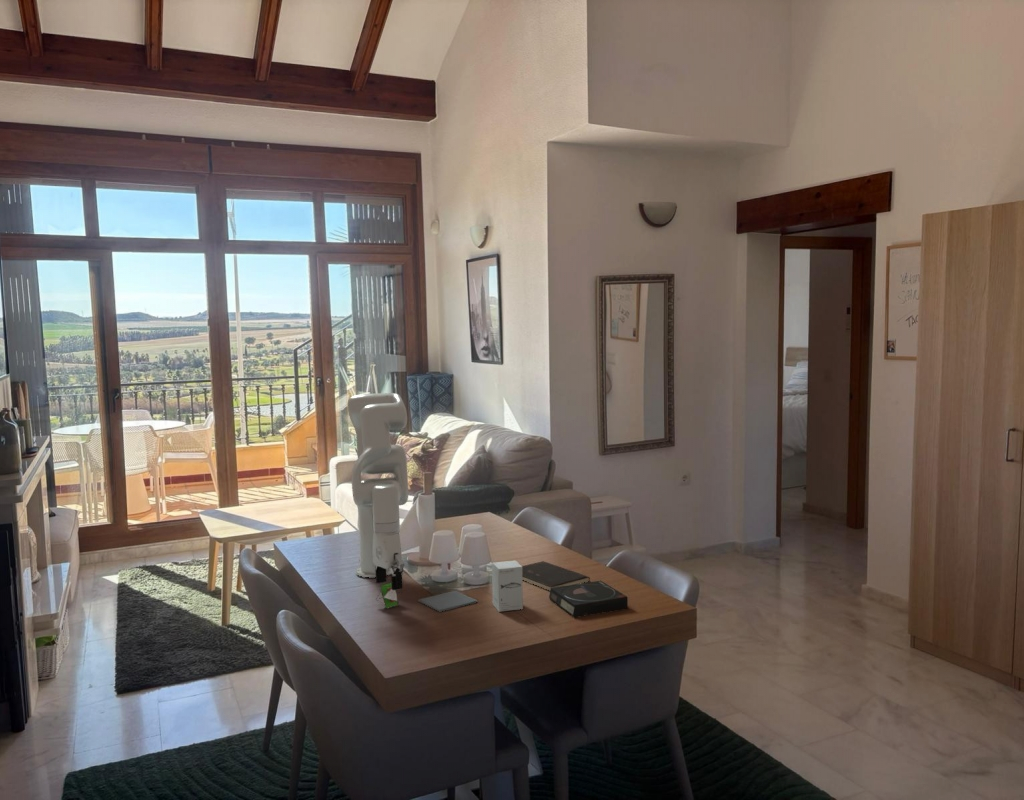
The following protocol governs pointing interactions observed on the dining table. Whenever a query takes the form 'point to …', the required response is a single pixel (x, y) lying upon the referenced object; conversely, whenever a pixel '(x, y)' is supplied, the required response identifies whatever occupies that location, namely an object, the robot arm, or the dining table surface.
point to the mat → (447, 601)
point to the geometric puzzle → (389, 595)
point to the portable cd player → (588, 598)
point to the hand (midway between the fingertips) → (389, 585)
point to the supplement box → (507, 585)
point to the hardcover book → (551, 575)
